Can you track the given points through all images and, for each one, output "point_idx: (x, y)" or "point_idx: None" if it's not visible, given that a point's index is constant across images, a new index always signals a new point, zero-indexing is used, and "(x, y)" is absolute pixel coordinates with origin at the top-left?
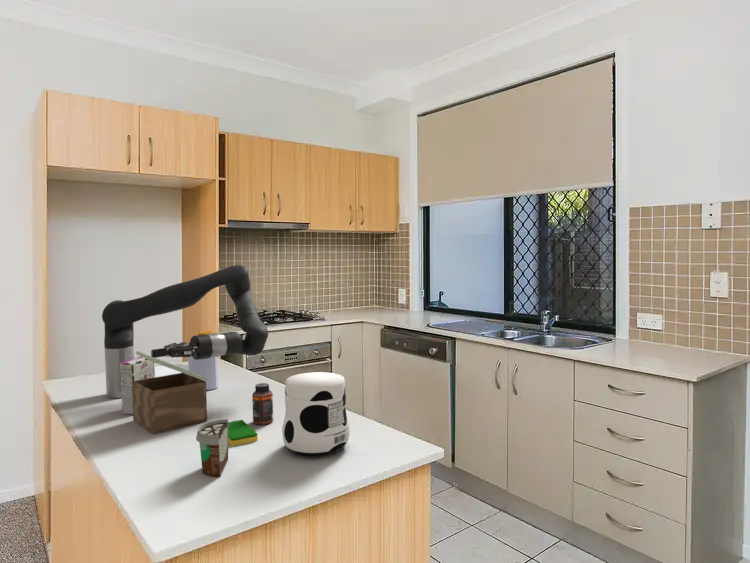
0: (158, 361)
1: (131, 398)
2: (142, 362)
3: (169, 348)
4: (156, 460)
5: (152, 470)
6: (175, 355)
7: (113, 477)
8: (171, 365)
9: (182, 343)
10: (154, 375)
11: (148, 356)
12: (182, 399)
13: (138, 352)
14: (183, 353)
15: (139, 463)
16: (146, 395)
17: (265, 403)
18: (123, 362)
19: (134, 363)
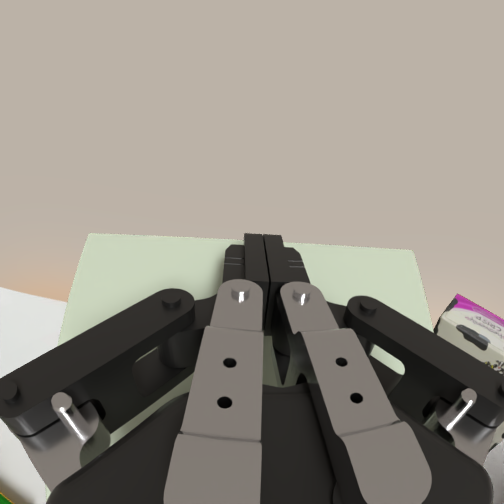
0: (88, 246)
1: None
2: (489, 355)
3: (218, 295)
4: (30, 353)
5: (13, 332)
6: (148, 362)
7: (46, 302)
8: (65, 317)
9: (339, 450)
10: (500, 439)
11: (222, 241)
12: None
13: (386, 251)
14: (100, 409)
15: (46, 336)
16: None
17: None
18: (468, 301)
19: (450, 322)
